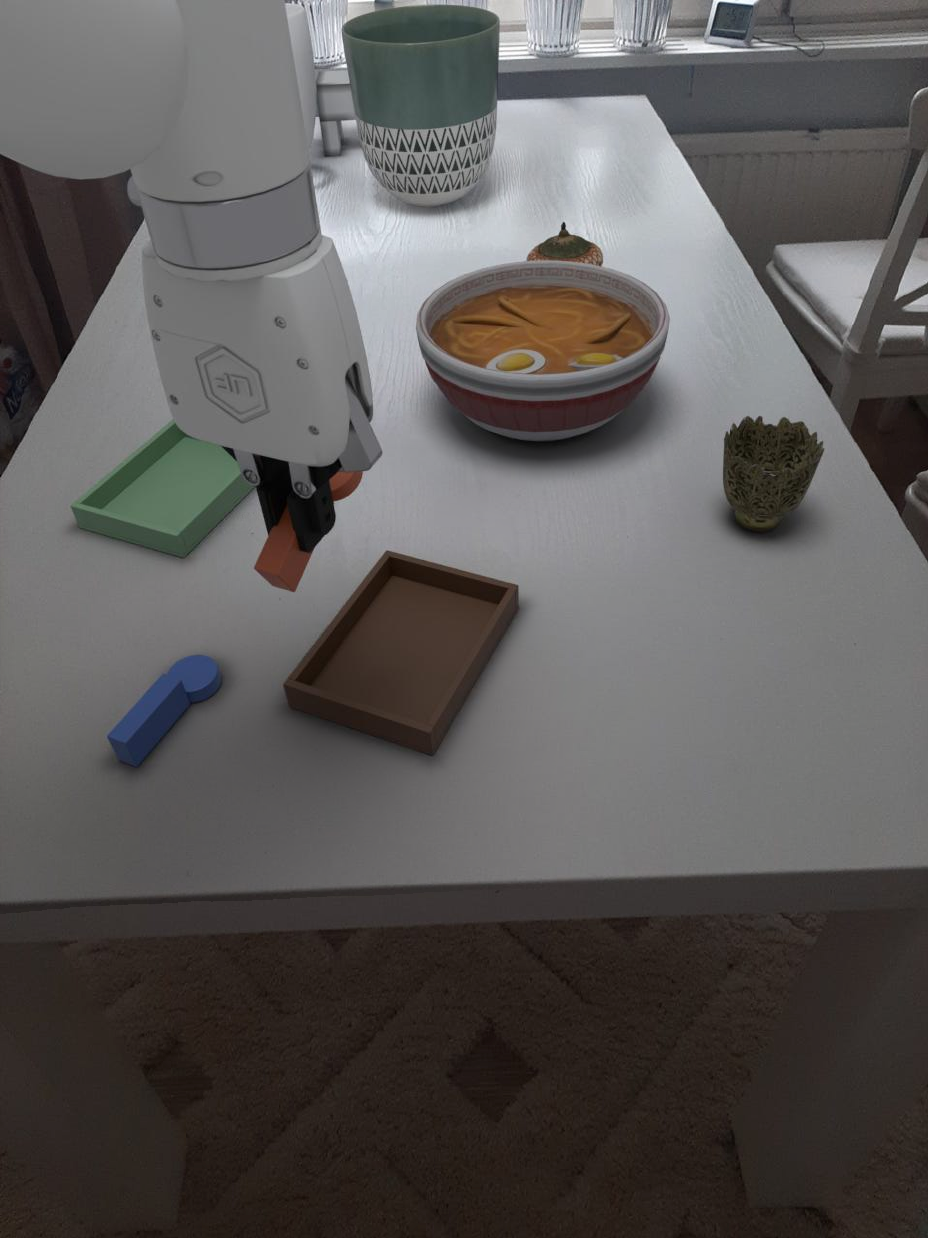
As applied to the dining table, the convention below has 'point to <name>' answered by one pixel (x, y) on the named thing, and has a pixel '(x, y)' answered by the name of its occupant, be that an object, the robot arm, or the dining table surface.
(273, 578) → the terracotta spoon
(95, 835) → the dining table surface
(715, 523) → the dining table surface
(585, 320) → the bowl
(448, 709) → the tray
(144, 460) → the green tray
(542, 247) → the acorn
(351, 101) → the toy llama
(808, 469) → the decorative vase
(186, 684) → the blue spoon
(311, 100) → the cup
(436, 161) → the planter
